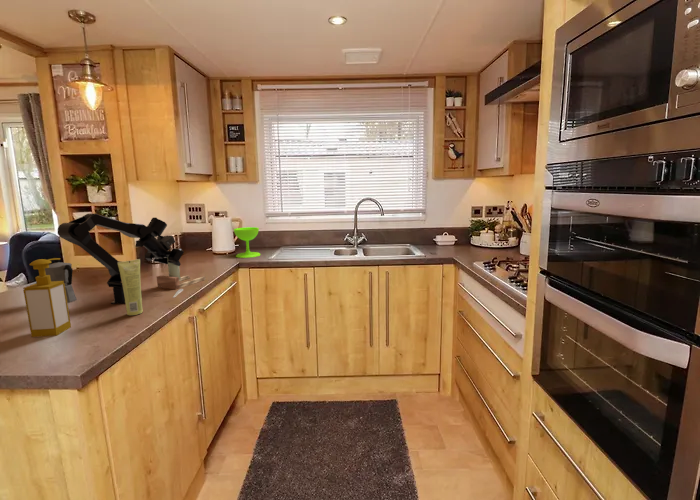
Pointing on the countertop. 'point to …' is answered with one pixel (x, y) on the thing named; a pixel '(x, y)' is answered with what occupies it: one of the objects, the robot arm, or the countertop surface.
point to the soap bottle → (46, 303)
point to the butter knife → (178, 292)
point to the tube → (131, 286)
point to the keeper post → (173, 270)
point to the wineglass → (247, 240)
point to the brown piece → (175, 281)
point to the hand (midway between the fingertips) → (175, 264)
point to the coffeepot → (62, 277)
